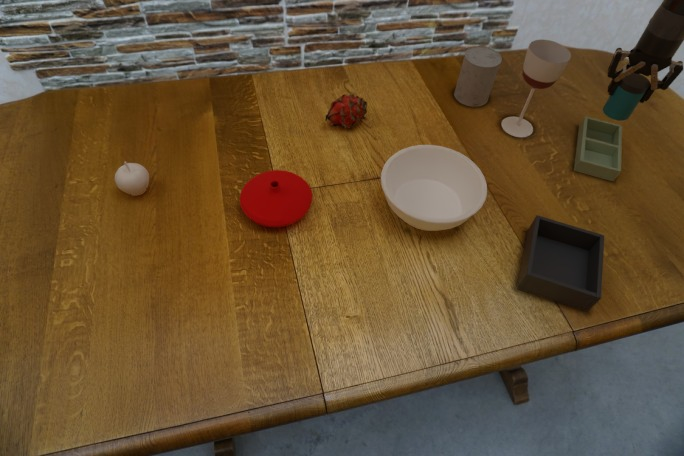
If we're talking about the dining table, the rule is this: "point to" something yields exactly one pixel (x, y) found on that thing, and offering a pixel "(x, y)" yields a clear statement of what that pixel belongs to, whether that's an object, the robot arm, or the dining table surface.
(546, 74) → the wineglass
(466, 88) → the gray cylinder
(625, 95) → the travel mug
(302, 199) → the red disc with nozzle
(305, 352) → the dining table surface
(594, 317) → the dining table surface
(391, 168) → the bowl
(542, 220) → the dark grey open box
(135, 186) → the plain white apple
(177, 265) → the dining table surface
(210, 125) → the dining table surface
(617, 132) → the green divided tray
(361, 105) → the dragon fruit
